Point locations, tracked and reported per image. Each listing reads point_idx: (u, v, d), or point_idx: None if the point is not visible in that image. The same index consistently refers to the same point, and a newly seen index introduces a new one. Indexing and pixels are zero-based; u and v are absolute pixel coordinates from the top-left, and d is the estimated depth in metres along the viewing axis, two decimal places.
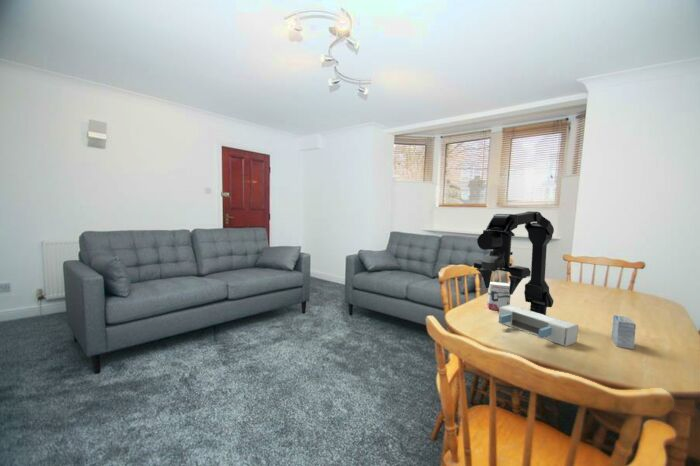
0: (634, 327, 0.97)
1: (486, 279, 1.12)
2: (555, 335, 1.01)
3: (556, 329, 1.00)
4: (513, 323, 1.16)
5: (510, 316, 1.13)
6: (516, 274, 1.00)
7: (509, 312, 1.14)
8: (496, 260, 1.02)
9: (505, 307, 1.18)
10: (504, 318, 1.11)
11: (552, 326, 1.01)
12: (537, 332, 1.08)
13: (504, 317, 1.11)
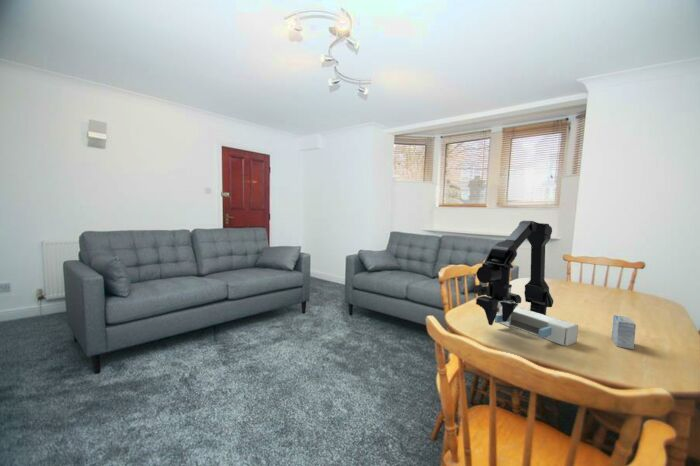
0: (634, 327, 0.97)
1: (503, 311, 1.11)
2: (555, 335, 1.01)
3: (556, 329, 1.00)
4: (513, 323, 1.16)
5: None
6: None
7: None
8: None
9: None
10: (500, 318, 1.12)
11: (552, 326, 1.01)
12: (537, 332, 1.08)
13: (500, 317, 1.12)
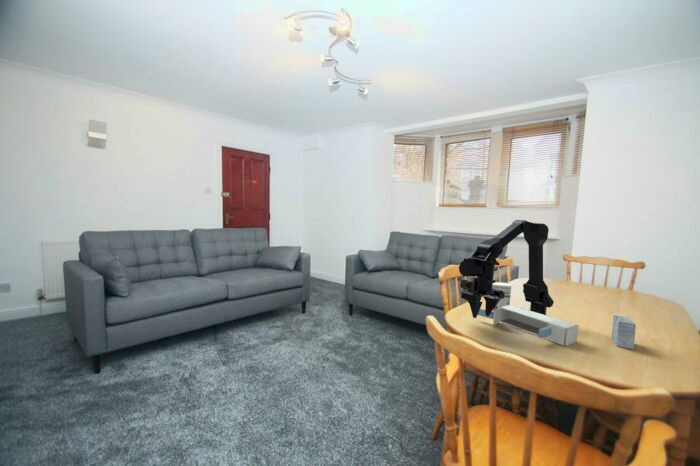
0: (634, 327, 0.97)
1: (486, 306, 1.16)
2: (555, 335, 1.01)
3: (556, 329, 1.00)
4: (513, 323, 1.16)
5: (492, 314, 1.15)
6: None
7: None
8: None
9: (505, 307, 1.18)
10: (482, 311, 1.18)
11: (552, 326, 1.01)
12: (537, 332, 1.08)
13: (482, 310, 1.18)
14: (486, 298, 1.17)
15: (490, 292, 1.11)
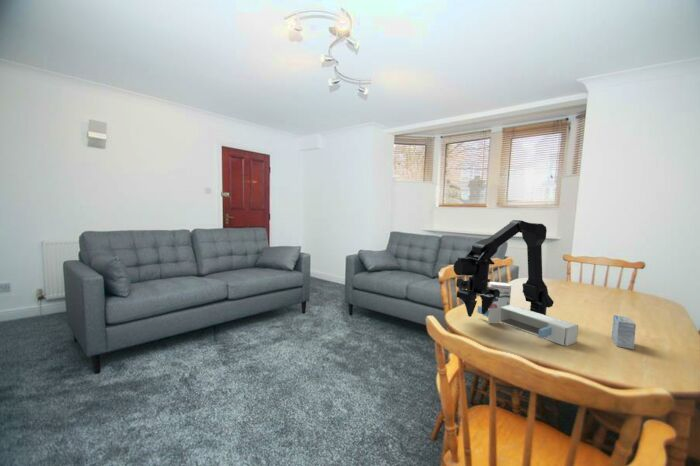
0: (634, 327, 0.97)
1: (482, 304, 1.18)
2: (555, 335, 1.01)
3: (556, 329, 1.00)
4: (513, 323, 1.16)
5: (487, 312, 1.17)
6: None
7: None
8: None
9: (505, 307, 1.18)
10: (480, 309, 1.21)
11: (552, 326, 1.01)
12: (537, 332, 1.08)
13: (480, 308, 1.21)
14: (482, 296, 1.19)
15: (485, 291, 1.13)
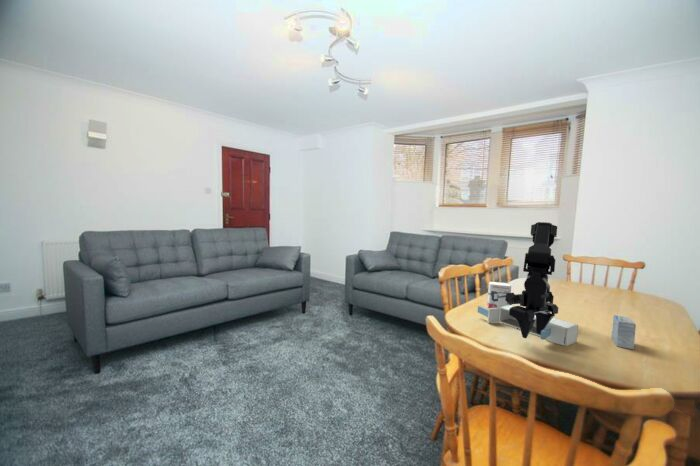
0: (634, 327, 0.97)
1: (537, 322, 1.01)
2: (555, 335, 1.00)
3: (556, 329, 1.00)
4: (513, 323, 1.16)
5: (487, 312, 1.17)
6: None
7: None
8: None
9: (505, 307, 1.18)
10: (480, 309, 1.21)
11: (551, 326, 1.01)
12: None
13: (480, 308, 1.21)
14: (537, 313, 1.01)
15: (543, 308, 0.95)
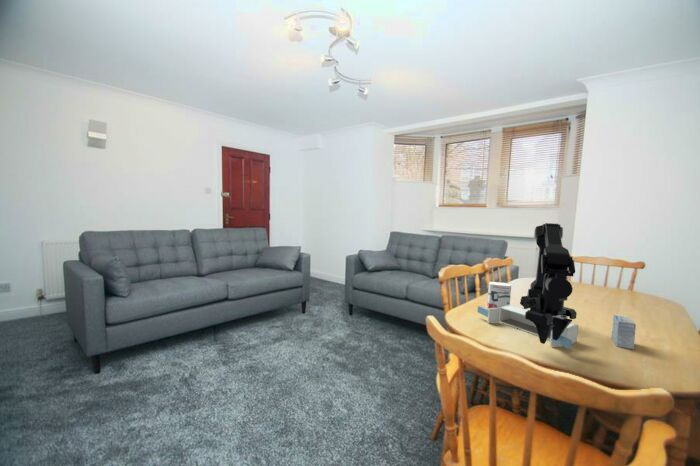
0: (634, 327, 0.97)
1: (553, 328, 0.95)
2: None
3: None
4: (513, 323, 1.16)
5: (487, 312, 1.17)
6: None
7: None
8: None
9: (505, 307, 1.18)
10: (480, 309, 1.21)
11: None
12: (537, 332, 1.08)
13: (480, 308, 1.21)
14: (553, 318, 0.96)
15: (562, 312, 0.90)
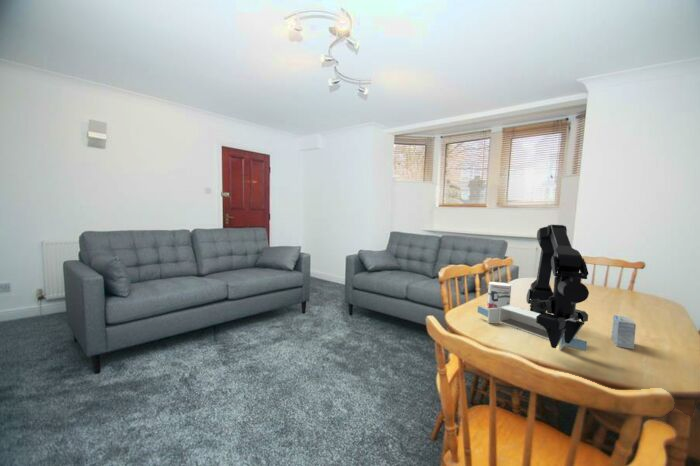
0: (634, 327, 0.97)
1: (565, 331, 0.93)
2: None
3: None
4: (513, 323, 1.16)
5: (487, 312, 1.17)
6: None
7: None
8: None
9: (505, 307, 1.18)
10: (480, 309, 1.21)
11: None
12: (537, 332, 1.08)
13: (480, 308, 1.21)
14: (564, 321, 0.94)
15: (574, 315, 0.88)
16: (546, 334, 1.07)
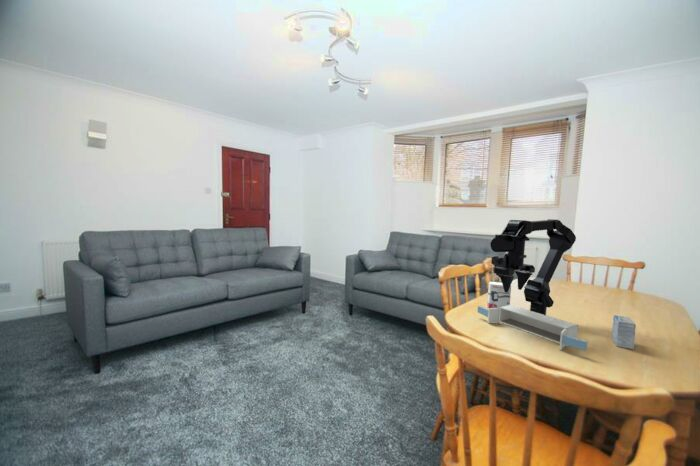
0: (634, 327, 0.97)
1: (518, 280, 1.22)
2: None
3: (564, 334, 0.96)
4: (513, 323, 1.16)
5: (487, 312, 1.17)
6: None
7: None
8: None
9: (505, 307, 1.18)
10: (480, 309, 1.21)
11: (563, 333, 0.96)
12: (537, 332, 1.08)
13: (480, 308, 1.21)
14: (518, 273, 1.22)
15: (522, 266, 1.16)
16: (546, 334, 1.07)
